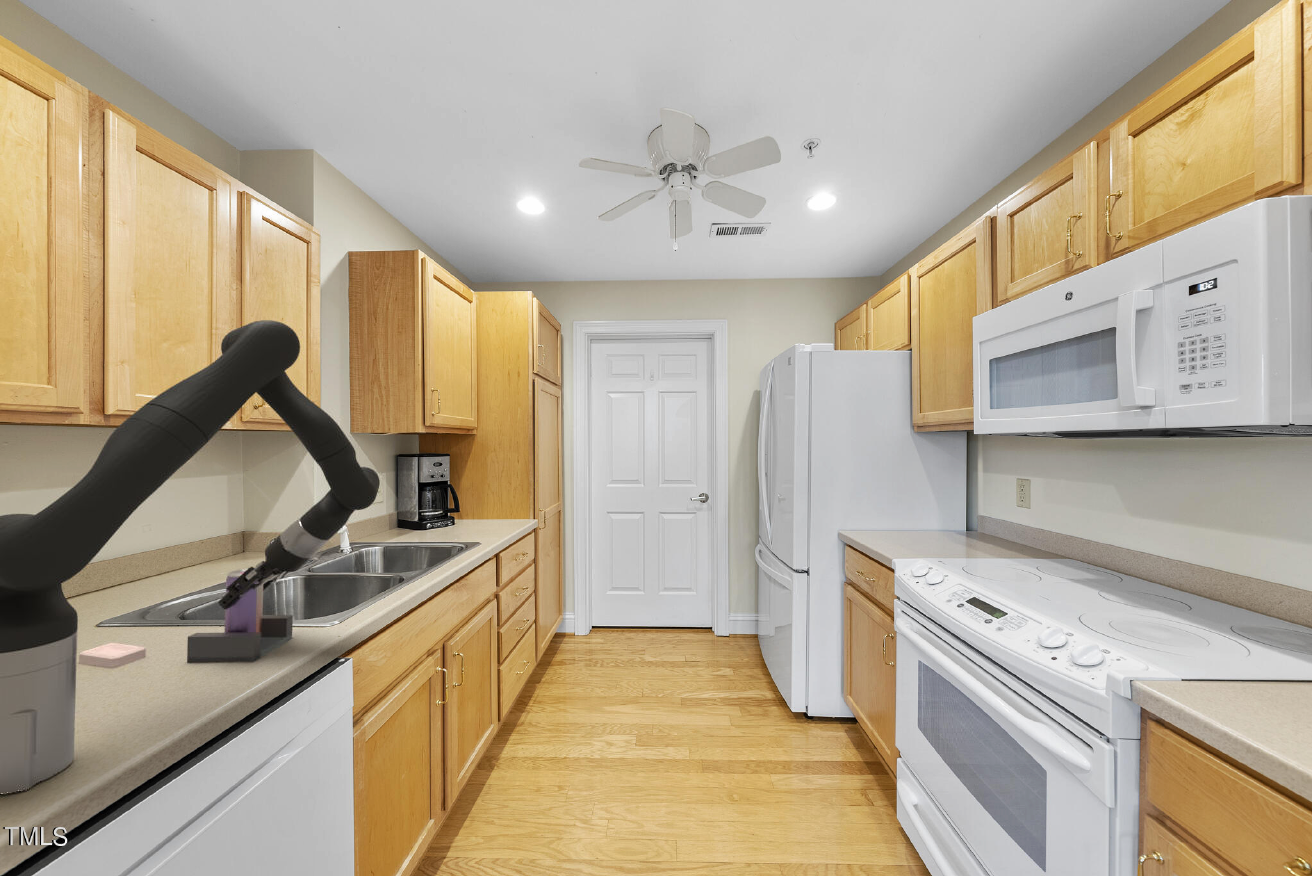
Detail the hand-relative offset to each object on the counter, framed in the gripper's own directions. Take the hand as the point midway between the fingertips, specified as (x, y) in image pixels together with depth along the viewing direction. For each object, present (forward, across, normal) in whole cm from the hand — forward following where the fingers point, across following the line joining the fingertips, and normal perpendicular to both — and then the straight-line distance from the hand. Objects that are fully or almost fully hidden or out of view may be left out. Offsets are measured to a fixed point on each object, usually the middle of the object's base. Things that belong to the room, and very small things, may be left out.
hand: (238, 599), depth 105 cm
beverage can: (+6, 0, +8) cm, 10 cm away
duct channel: (+6, 0, +8) cm, 10 cm away
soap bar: (+22, +4, -6) cm, 23 cm away
